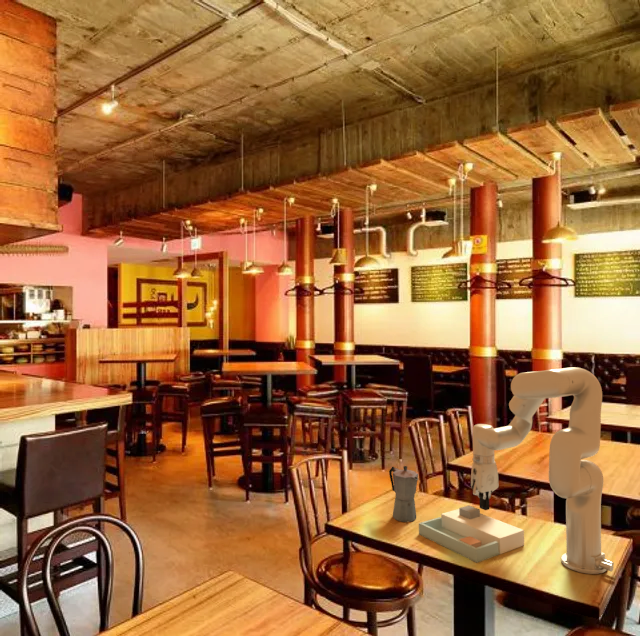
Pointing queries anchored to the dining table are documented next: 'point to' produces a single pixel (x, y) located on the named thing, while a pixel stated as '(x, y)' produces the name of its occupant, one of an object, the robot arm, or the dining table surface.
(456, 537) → the box
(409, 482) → the moka pot
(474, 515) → the slate tile
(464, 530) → the board
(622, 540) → the dining table surface
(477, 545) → the terracotta tile
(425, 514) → the dining table surface
